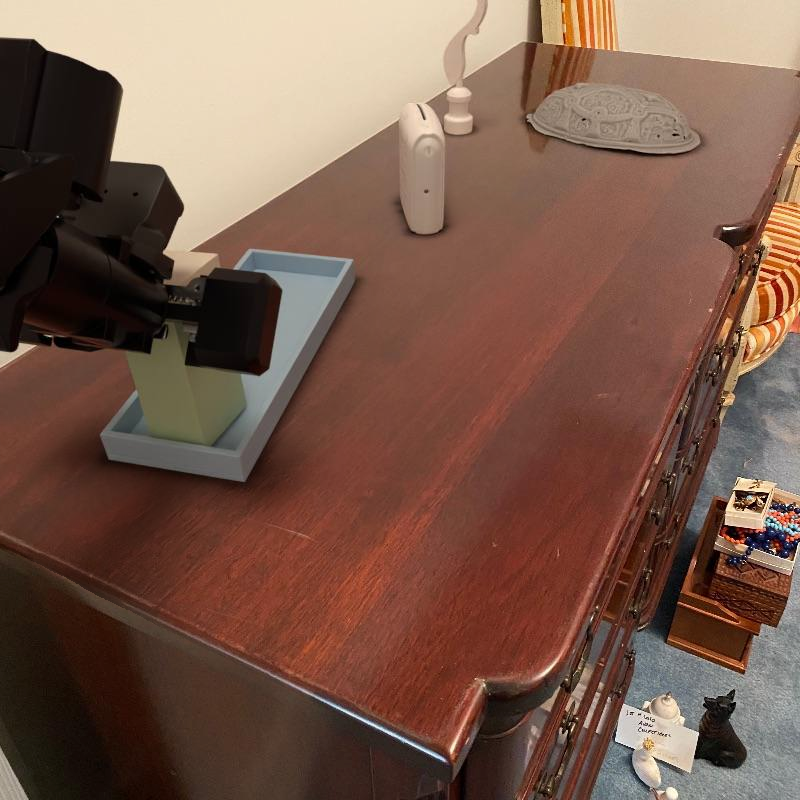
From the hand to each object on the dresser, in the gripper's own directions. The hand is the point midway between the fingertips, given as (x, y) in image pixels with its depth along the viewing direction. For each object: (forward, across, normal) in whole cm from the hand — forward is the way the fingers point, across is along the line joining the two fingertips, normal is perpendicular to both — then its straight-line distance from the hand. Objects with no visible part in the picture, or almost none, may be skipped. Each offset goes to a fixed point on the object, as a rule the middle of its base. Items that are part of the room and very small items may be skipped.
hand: (191, 333), depth 57 cm
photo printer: (+33, -9, -22) cm, 41 cm away
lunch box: (+4, 0, +6) cm, 7 cm away
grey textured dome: (+56, -30, -44) cm, 77 cm away
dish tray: (+12, 0, 0) cm, 12 cm away
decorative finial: (+53, -9, -41) cm, 68 cm away
